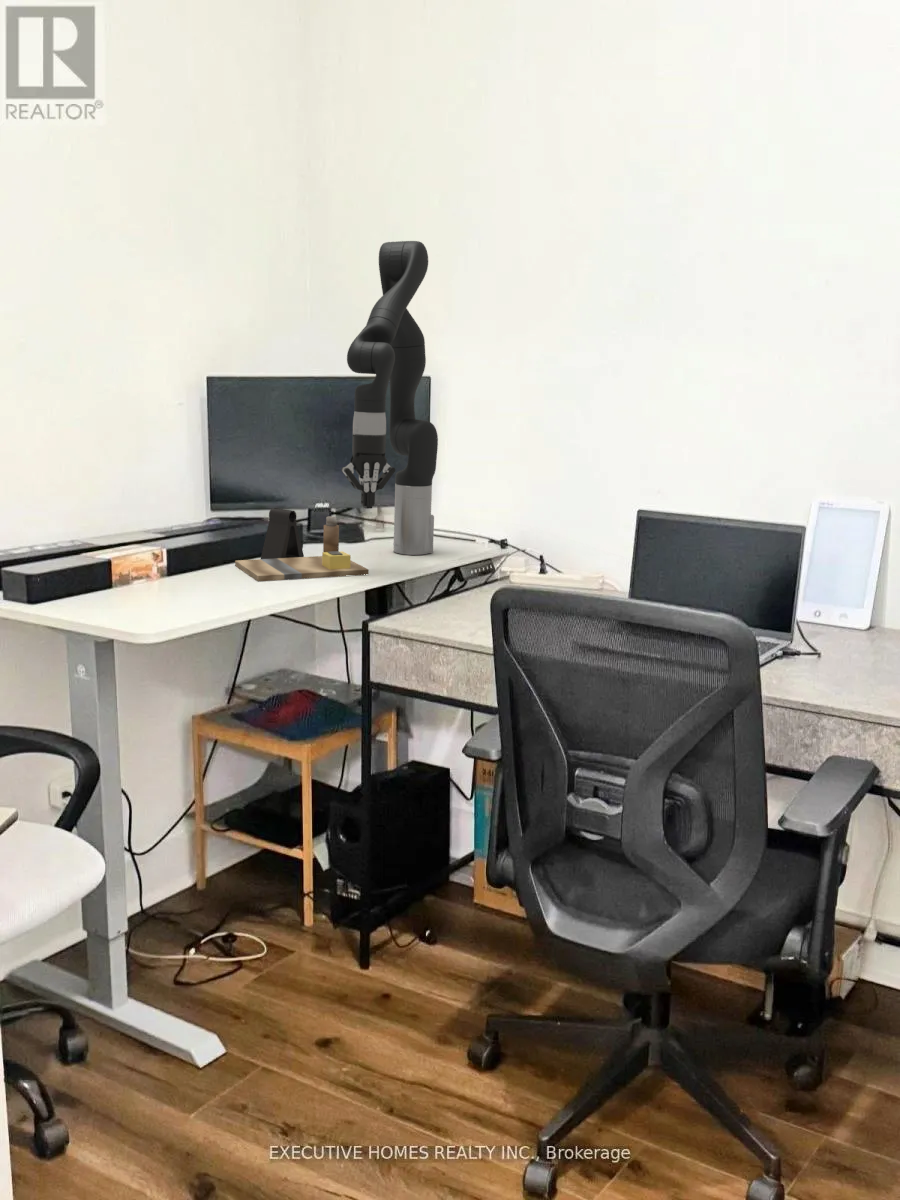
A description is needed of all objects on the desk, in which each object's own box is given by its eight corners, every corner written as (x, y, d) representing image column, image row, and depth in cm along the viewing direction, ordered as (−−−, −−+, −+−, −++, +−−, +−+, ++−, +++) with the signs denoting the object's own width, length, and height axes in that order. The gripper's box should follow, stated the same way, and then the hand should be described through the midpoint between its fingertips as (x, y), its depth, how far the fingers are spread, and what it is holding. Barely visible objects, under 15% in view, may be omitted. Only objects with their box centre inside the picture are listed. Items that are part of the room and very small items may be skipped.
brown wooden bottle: (335, 557, 278) (335, 515, 276) (340, 560, 275) (341, 518, 273) (321, 557, 277) (321, 516, 275) (326, 560, 274) (326, 518, 271)
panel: (340, 560, 282) (340, 555, 281) (368, 574, 266) (368, 569, 266) (235, 565, 270) (235, 560, 270) (257, 581, 255) (257, 575, 254)
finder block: (342, 564, 271) (342, 550, 270) (350, 568, 266) (350, 554, 265) (322, 565, 268) (322, 551, 268) (329, 569, 264) (329, 555, 263)
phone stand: (279, 563, 275) (280, 513, 272) (260, 560, 278) (260, 510, 275) (304, 558, 282) (304, 508, 280) (284, 554, 286) (285, 506, 283)
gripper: (389, 430, 270) (387, 504, 274) (336, 430, 264) (334, 506, 268) (402, 433, 263) (400, 509, 267) (347, 433, 258) (346, 511, 261)
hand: (367, 507), depth 268 cm, fingers closed
